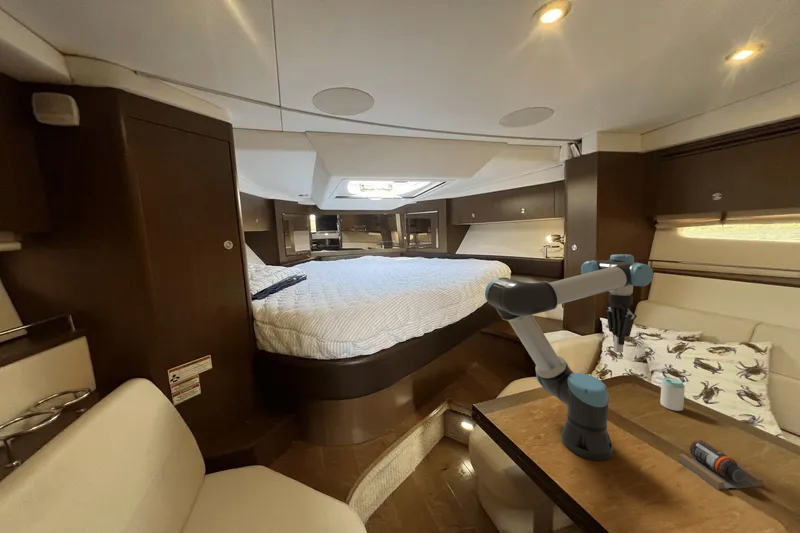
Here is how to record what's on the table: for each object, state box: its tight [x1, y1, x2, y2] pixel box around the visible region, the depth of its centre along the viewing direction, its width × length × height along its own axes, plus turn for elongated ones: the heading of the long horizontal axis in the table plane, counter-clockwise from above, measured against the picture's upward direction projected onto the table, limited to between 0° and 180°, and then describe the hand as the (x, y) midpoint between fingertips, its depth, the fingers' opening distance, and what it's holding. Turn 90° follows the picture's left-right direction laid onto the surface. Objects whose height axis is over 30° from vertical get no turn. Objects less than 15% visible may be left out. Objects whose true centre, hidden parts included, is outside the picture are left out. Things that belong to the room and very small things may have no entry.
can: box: [659, 376, 686, 412], centre depth 121 cm, size 7×7×12 cm
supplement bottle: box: [689, 439, 746, 482], centre depth 88 cm, size 6×6×11 cm
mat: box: [677, 453, 764, 491], centre depth 87 cm, size 14×11×2 cm
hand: (618, 351), depth 115 cm, fingers closed
